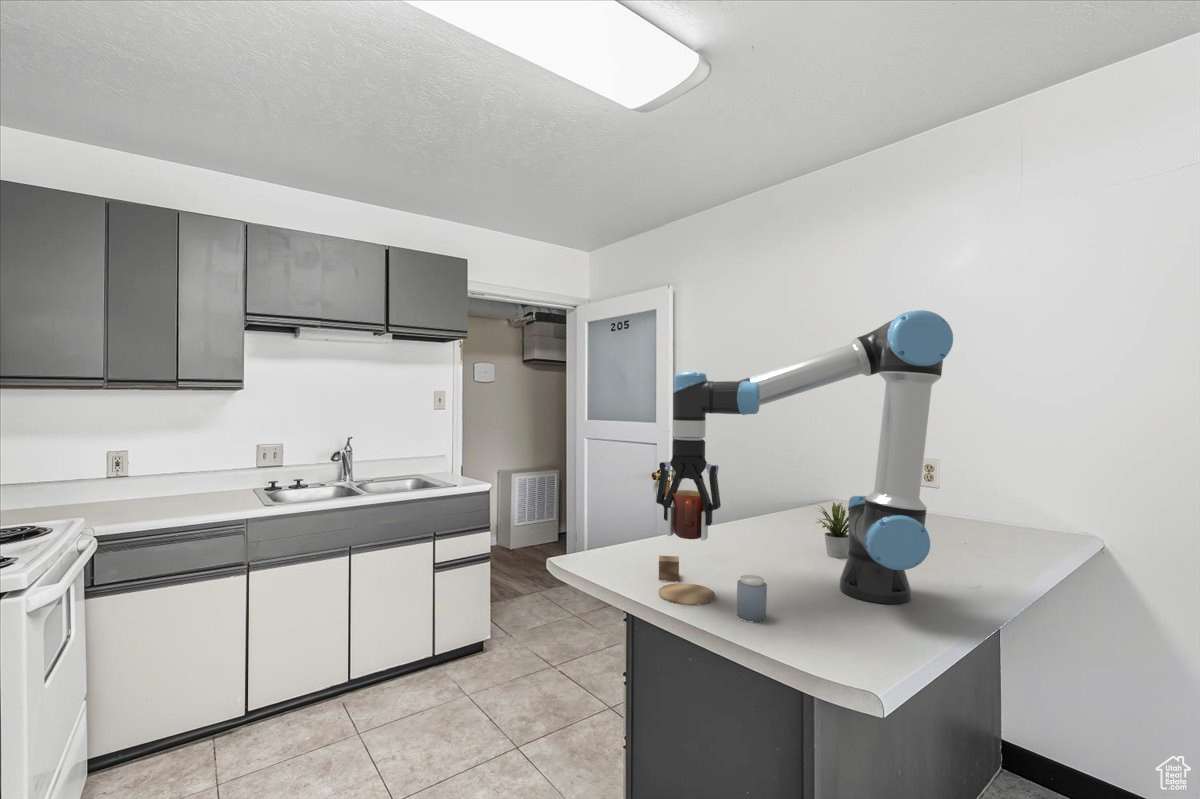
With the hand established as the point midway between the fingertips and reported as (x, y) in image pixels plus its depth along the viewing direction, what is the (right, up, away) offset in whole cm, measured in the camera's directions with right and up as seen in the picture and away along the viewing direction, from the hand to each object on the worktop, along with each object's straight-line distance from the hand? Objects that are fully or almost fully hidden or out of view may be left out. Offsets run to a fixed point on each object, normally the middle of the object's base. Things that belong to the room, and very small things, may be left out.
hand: (687, 536), depth 129 cm
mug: (0, 0, 0) cm, 1 cm away
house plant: (+49, -15, +37) cm, 63 cm away
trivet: (0, -14, 0) cm, 14 cm away
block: (-3, -14, +12) cm, 19 cm away
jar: (+11, -14, -13) cm, 22 cm away
